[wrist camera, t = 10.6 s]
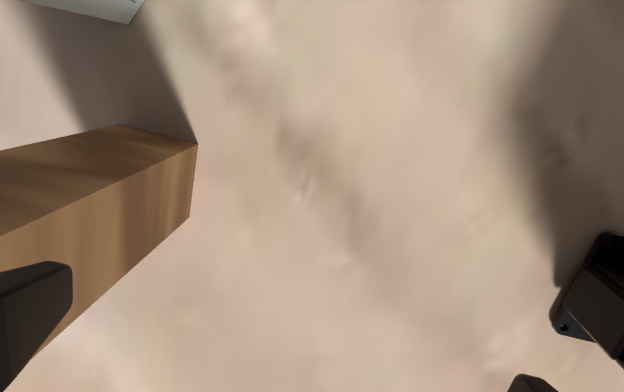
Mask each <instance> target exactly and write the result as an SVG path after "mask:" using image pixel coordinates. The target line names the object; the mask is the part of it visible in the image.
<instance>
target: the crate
mask: <svg viewBox="0 0 624 392" xmlns="http://www.w3.org/2000/svg"><path fill="white" fill-rule="evenodd" d="M21 1H25V2H30V3H34V4H38V5H43V6H47V7H52V8H56V9H61V10H65V11H70V12H74V13H79V14H83V15H88V16H92V17H97V18H101V19H106V20H110V21H115V22H119V23H124V24H129V23H130V21H131V20H132V18H133V17H134V15H135V14H136V12H137V11H138V9H139V8H140V6H141V5H142V3H143V2H144V0H21Z"/></svg>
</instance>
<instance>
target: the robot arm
mask: <svg viewBox="0 0 624 392" xmlns="http://www.w3.org/2000/svg"><path fill="white" fill-rule="evenodd" d="M610 239H612V241H611V242H610V243H609V244H607V242H608V241H609V240H610ZM72 303H73V270H72V268H71V266H69V265H68V264H64V263H60V262H56V261H43V262H39V263H35V264H31V265H27V266H23V267H19V268H15V269H11V270H7V271H2V272H0V392H3V391H4V390H5V389H6V388H7V387H8V386H9V385H10V384H11V383H12V381H13V380H14V379H15V378H16V377H17V375H18V374H19V373H20V372H21V371H22V370H23V368H24V367H25V366H26V365H27V363H28V362H29V361H30V359H31V358H32V357H33V356H34V354H35V353H36V352H37V351H38V349H39V348H40V347H41V346H42V344H43V343H44V342H45V341H46V339H47V338H48V337H49V335H50V334H51V333H52V332H53V330H54V329H55V328H56V327H57V325H58V324H59V323H60V322H61V320H62V319H63V318H64V317H65V315H66V314H67V313H68V311H69V310H70V308H71V306H72ZM563 324H565V325H564V326H562V327H560V326H561V325H563ZM552 327H553V328H554V329H555V331H556V332H557V333H558V334H561V335H565V336H569V337H573V338H577V339H581V340H586V341H590V342H594V343H597V344H598V345H599V346H600V347H601V348H602V349H603V350H604V352H605V353H606V354H607V355H608V356H609V357H610V358H611V359H613V360H615V361H616V362H617V363H618V364H619V365H620V366H621V367H622V368H623V369H624V234H619V233H615V232H609V231H607V232H603V233H602V234H600V235H599V236H598V238H597V239H596V241H595V243H594V245H593V247H592V249H591V250H590V252H589V254H588V256H587V258H586V260H585V262H584V263H583V265H582V267H581V269H580V271H579V273H578V274H577V276H576V278H575V280H574V282H573V284H572V286H571V287H570V289H569V291H568V293H567V295H566V297H565V298H564V300H563V302H562V304H561V306H560V308H559V309H558V311H557V313H556V315H555V317H554V319H553V321H552ZM507 392H558V391H557V390H556V389H554V388H553V387H552V386H551V385H550V384H548V383H547V382H546V381H545V380H543V379H541V378H539V377H535V376H531V375H526V374H518V375H517V376H516V377H515V378H514V380H513V382H512V384H511V385H510V387H509V389H508V391H507Z"/></svg>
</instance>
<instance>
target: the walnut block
mask: <svg viewBox="0 0 624 392" xmlns="http://www.w3.org/2000/svg"><path fill="white" fill-rule="evenodd" d="M197 148H198V144H195V143H191V142H187V141H183V140H179V139H175V138H171V137H167V136H163V135H159V134H155V133H151V132H147V131H143V130H139V129H135V128H131V127H127V126H123V125H115V126H110V127H106V128H101V129H97V130H92V131H87V132H83V133H78V134H74V135H69V136H65V137H60V138H56V139H51V140H47V141H42V142H38V143H33V144H28V145H24V146H19V147H15V148H10V149H6V150H1V151H0V272H2V271H7V270H11V269H15V268H19V267H23V266H27V265H31V264H35V263H39V262H43V261H56V262H60V263H64V264H68V265H69V266H71V268H72V270H73V303H72V306H71V308H70V310H69V311H68V313H67V314H66V315H65V317H64V318H63V319H62V320H61V322H60V323H59V324H58V325H57V327H56V328H55V329H54V330H53V332H52V333H51V334H50V335H49V337H48V338H47V339H46V341H45V342H44V343H43V344H42V346H41V347H40V348H39V349H38V351H37V352H36V353H35V354H34V356H35V355H36V354H37V353H39V352H40V351H41V350H42V349H43V348H44V347H45V346H46V345H48V344H49V343H50V342H51V341H52V340H53V339H54V338H55V337H56V336H58V335H59V334H60V333H61V332H62V331H63V330H64V329H65V328H66V327H68V326H69V325H70V324H71V323H72V322H73V321H74V320H75V319H76V318H78V317H79V316H80V315H81V314H82V313H83V312H84V311H85V310H87V309H88V308H89V307H90V306H91V305H92V304H93V303H94V302H95V301H97V300H98V299H99V298H100V297H101V296H102V295H103V294H104V293H105V292H107V291H108V290H109V289H110V288H111V287H112V286H113V285H114V284H115V283H117V282H118V281H119V280H120V279H121V278H122V277H123V276H124V275H126V274H127V273H128V272H129V271H130V270H131V269H132V268H133V267H134V266H136V265H137V264H138V263H139V262H140V261H141V260H142V259H143V258H144V257H146V256H147V255H148V254H149V253H150V252H151V251H152V250H153V249H154V248H156V247H157V246H158V245H159V244H160V243H161V242H162V241H163V240H165V239H166V238H167V237H168V236H169V235H170V234H171V233H172V232H173V231H175V230H176V229H177V228H178V227H179V226H180V225H181V224H182V223H183V222H185V221H186V220H187V219H188V218H189V213H190V205H191V197H192V189H193V181H194V173H195V165H196V157H197ZM34 356H33V357H34ZM33 357H32V358H33ZM32 358H31V359H32ZM31 359H30V360H31Z"/></svg>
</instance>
